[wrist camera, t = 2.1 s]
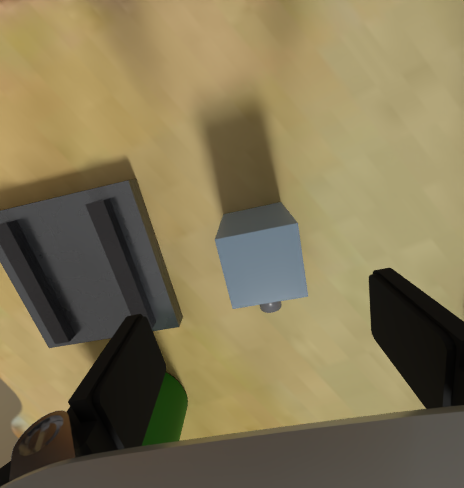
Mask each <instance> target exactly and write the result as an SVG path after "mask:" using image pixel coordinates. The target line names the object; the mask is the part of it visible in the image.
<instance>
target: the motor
mask: <svg viewBox="0 0 464 488" xmlns="http://www.w3.org/2000/svg"><path fill="white" fill-rule="evenodd" d="M187 406H188V400H187V395H186V393H185V391H184V389H183V387H182V386H181V384H180V383H179V382H178V381H177V380H176V379H175V378H174V377H172V376H171V375H169V374H168V373H165V376H164V379H163V382H162V386H161V389H160V392H159V395H158V398H157V401H156V404H155V407H154V410H153V413H152V416H151V419H150V422H149V425H148V428H147V431H146V434H145V437H144V440H143V443H142V446H146V445H153V444H161V443H168V442H175V441H179V439H180V435H181V431H182V427H183V423H184V419H185V414H186V410H187Z"/></svg>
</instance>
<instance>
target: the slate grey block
mask: <svg viewBox="0 0 464 488" xmlns="http://www.w3.org/2000/svg"><path fill="white" fill-rule="evenodd" d="M215 242H216V246H217V250H218V254H219V258H220V262H221V265H222V269H223V273H224V277H225V281H226V285H227V289H228V293H229V296H230V300H231V304H232V308H233V309H236V308H242V307H248V306H254V305H260V309H261V310H262V311H263V312H267V313H271V312H275V311H278V310H279V309H280V308H281V306H282V305H281V301H284V300H290V299H296V298H302V297H308V292H307V285H306V278H305V271H304V264H303V257H302V250H301V243H300V235H299V228H298V223H297V221H296V220H295V219H294V218H293V216H292V215H291V214H290V213H289V211H288V210H287V209H286V208H285V206H284V205H283V204H282V203H281V202H279V203H274V204H269V205H265V206H260V207H255V208H250V209H246V210H241V211H236V212H232V213H227V214H223V217H222V220H221V223H220V226H219V229H218V232H217V235H216V238H215Z"/></svg>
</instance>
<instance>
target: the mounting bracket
mask: <svg viewBox="0 0 464 488" xmlns="http://www.w3.org/2000/svg"><path fill="white" fill-rule="evenodd" d="M0 262H1V264H2V266H3V268H4V269H5V271H6V273H7V275H8V277H9V278H10V280H11V282H12V284H13V285H14V287H15V289H16V291H17V292H18V294H19V296H20V298H21V300H22V301H23V303H24V305H25V307H26V308H27V310H28V312H29V314H30V315H31V317H32V319H33V321H34V322H35V324H36V326H37V328H38V330H39V331H40V333H41V335H42V337H43V338H44V340H45V342H46V344H47V345H48V347H49V348H52V347H59V346H65V345H71V344H77V343H83V342H89V341H95V340H102V339H108V338H112V337H113V335H114V334H115V332H116V331H117V329H118V328H119V326H120V325H121V324H122V322H123V321H124V319H125V318H126V317H127V316H131V315H136V314H142V315H143V317H144V316H145V317H147V319H148V321H149V324H150V326H151V329H152V331H157V330H163V329H169V328H175V327H179V326H180V323H181V321H182V318H183V316H182V314H181V311H180V308H179V305H178V302H177V299H176V296H175V293H174V290H173V287H172V284H171V281H170V278H169V275H168V272H167V269H166V266H165V263H164V260H163V257H162V254H161V251H160V248H159V245H158V242H157V239H156V236H155V233H154V230H153V227H152V225H151V222H150V219H149V216H148V213H147V210H146V207H145V204H144V201H143V198H142V195H141V192H140V189H139V186H138V183H137V180H136V179H132V180H128V181H123V182H119V183H115V184H111V185H107V186H102V187H98V188H94V189H90V190H86V191H81V192H77V193H73V194H69V195H65V196H60V197H56V198H52V199H48V200H44V201H39V202H35V203H31V204H27V205H23V206H18V207H14V208H10V209H6V210H2V211H0Z"/></svg>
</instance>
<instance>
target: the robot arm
mask: <svg viewBox="0 0 464 488" xmlns="http://www.w3.org/2000/svg"><path fill="white" fill-rule="evenodd" d="M369 293H370V314H371V331H372V335H373V337H374V339H375V340H376V342H377V343H378V344H379V346H380V347H381V349H382V350H383V351H384V353H385V354H386V355H387V357H388V358H389V359H390V361H391V362H392V363H393V365H394V366H395V367H396V369H397V370H398V371H399V373H400V374H401V375H402V377H403V378H404V379H405V381H406V382H407V383H408V385H409V386H410V387H411V389H412V390H413V392H414V393H415V394H416V396H417V397H418V398H419V400H420V401H421V402H422V404H423V405H424V406H425V408H426V409H421V410H412V411H403V412H394V413H386V414H379V415H371V416H363V417H355V418H347V419H339V420H331V421H323V422H316V423H308V424H300V425H293V426H285V427H278V428H270V429H263V430H255V431H248V432H240V433H233V434H225V435H218V436H211V437H203V438H196V439H189V440H182V441H175V442H168V443H161V444H153V445H146V446H142V443H143V440H144V437H145V434H146V431H147V428H148V425H149V422H150V419H151V416H152V413H153V410H154V407H155V404H156V401H157V398H158V395H159V392H160V389H161V386H162V382H163V379H164V376H165V373H166V364H165V361H164V359H163V356H162V354H161V351H160V349H159V346H158V344H157V341H156V339H155V336H154V334H153V331H152V329H151V326H150V324H149V321H148V319H147V317H145V316H144V317H143V315H142V314H136V315H131V316H127V317H126V318H125V319H124V321H123V322H122V324H121V325H120V326H119V328H118V329H117V331H116V332H115V334H114V335H113V337H112V338H111V340H110V341H109V343H108V344H107V345H106V347H105V348H104V350H103V351H102V353H101V354H100V356H99V357H98V359H97V360H96V361H95V363H94V364H93V366H92V367H91V369H90V370H89V372H88V373H87V375H86V376H85V378H84V379H83V380H82V382H81V383H80V385H79V386H78V388H77V389H76V391H75V392H74V394H73V395H72V397H71V398H70V399H69V401H68V403H69V405H70V408H69V409H68V411H67V412H65V411H55V412H52V413H49V414H47V415H45V416H44V417H42V418H40V419H39V420H38V421H36V422H35V423H33V424H32V425H31V426H30V427H29V428H28V429H27V430H26V431H25V432H24V433H23V434H22V435H21V437H20V438H19V439H18V441H17V442H16V444H15V446H14V448H13V451H12V456H11V461H10V462H9V463H7V464H6V465H4V466H3V467H2V468H0V488H464V321H462V320H461V319H459V318H458V317H457V316H455V315H454V314H453V313H451V312H450V311H449V310H447V309H446V308H445V307H443V306H442V305H440V304H439V303H438V302H436V301H435V300H434V299H432V298H431V297H430V296H428V295H427V294H426V293H424V292H423V291H421V290H420V289H419V288H417V287H416V286H415V285H413V284H412V283H411V282H409V281H408V280H407V279H405V278H404V277H402V276H401V275H400V274H398V273H397V272H396V271H394V270H393V269H391V268H385V269H380V270H374V271H373V275H370V276H369Z"/></svg>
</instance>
